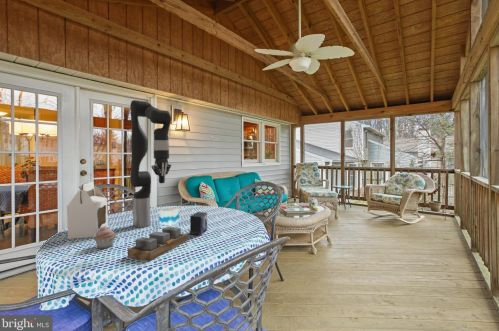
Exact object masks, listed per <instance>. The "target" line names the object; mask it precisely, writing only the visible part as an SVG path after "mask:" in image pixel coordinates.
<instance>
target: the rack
mask: <svg viewBox="0 0 499 331" xmlns="http://www.w3.org/2000/svg"><path fill="white" fill-rule="evenodd" d="M161 229H162V230H161V232H164V233H170V240H169V241H167V242H165V244H164V245H160V244H157V239H153V238H149V237H146V236H141V237H139V238H137V239H135V245H134V246H131V247H130V248H127V258H130V259H131V258H132V259H136V260H142V261H147V262H151V261H153V260H155V259H157V258H159V257H161V256H163V255H165V254H167V252H168V253H169V251H172V250H173V249H175V248H177V247H179V246H180V245H182V244H184V243H187V241H188V234H187V233H181V232H182V230H181V229H182V228H180V227H174V226H173V227H172V226H165V227H163V228H161Z"/></svg>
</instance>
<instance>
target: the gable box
mask: <svg viewBox="0 0 499 331" xmlns="http://www.w3.org/2000/svg"><path fill="white" fill-rule="evenodd" d="M78 188H79V189H80V190H78V191H77V192H76V193H75V195H74V196H73V198H72V199H71V200H70V201H69V202H68V204H67V205H66V217H67V218H66V219H67V220H66V221H67V239H68V240H73V239H74V238H77V239H87V238H86V237H92V238H94V237H96V234H97V232H98V231H100V229H101V228H102V227H104V226H106V227H108V226H109V225H108V224H109V221H108V220H109V218H108V216H109V215H108V197H107V196H106V195H105V194H104V193H103V192H102V190H101V189H100V188H99V187H98V186H96V185H95V183H94V181H89V182H86V183H83V184H82V185H81V186H80V185H79V186H78Z"/></svg>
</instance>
